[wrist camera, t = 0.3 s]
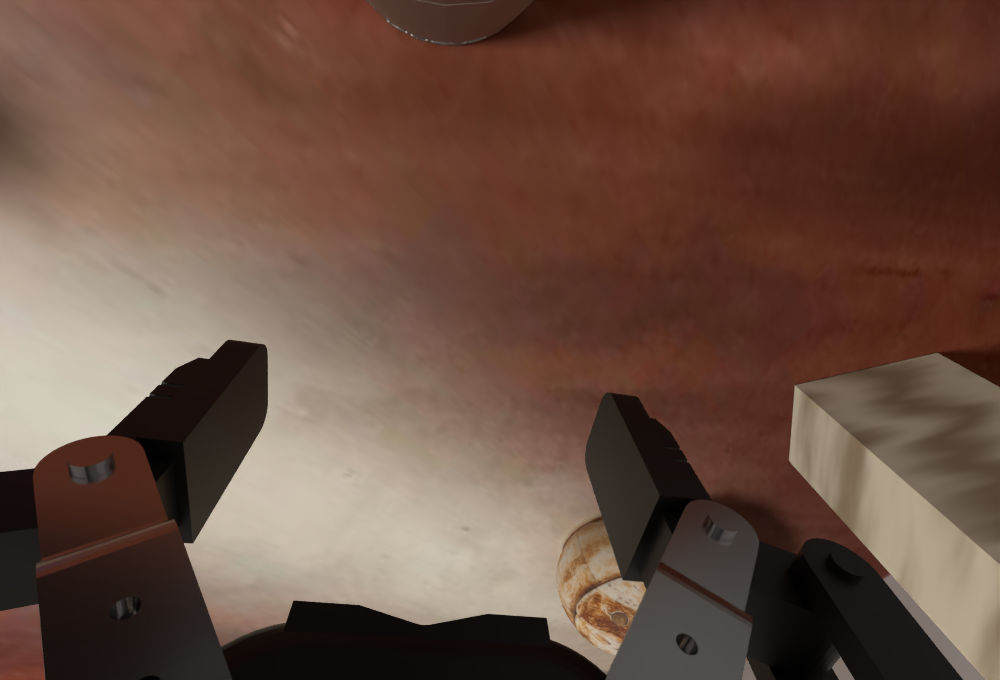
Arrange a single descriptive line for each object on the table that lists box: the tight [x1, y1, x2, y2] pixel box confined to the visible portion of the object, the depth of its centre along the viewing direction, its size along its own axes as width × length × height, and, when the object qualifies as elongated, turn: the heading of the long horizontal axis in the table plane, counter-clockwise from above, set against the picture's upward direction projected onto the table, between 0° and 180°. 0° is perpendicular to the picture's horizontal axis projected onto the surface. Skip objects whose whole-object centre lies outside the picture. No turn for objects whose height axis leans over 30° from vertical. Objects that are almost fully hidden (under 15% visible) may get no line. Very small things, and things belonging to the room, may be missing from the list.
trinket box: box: [557, 512, 646, 655], centre depth 38 cm, size 13×15×8 cm
